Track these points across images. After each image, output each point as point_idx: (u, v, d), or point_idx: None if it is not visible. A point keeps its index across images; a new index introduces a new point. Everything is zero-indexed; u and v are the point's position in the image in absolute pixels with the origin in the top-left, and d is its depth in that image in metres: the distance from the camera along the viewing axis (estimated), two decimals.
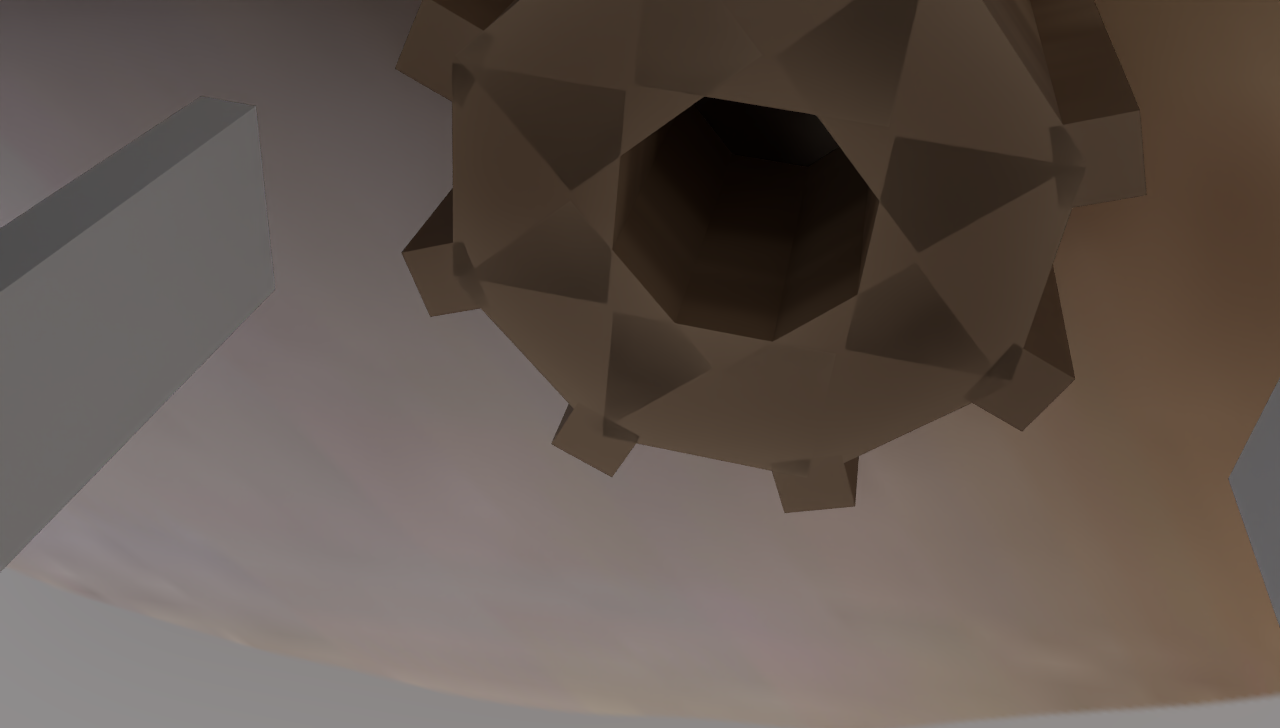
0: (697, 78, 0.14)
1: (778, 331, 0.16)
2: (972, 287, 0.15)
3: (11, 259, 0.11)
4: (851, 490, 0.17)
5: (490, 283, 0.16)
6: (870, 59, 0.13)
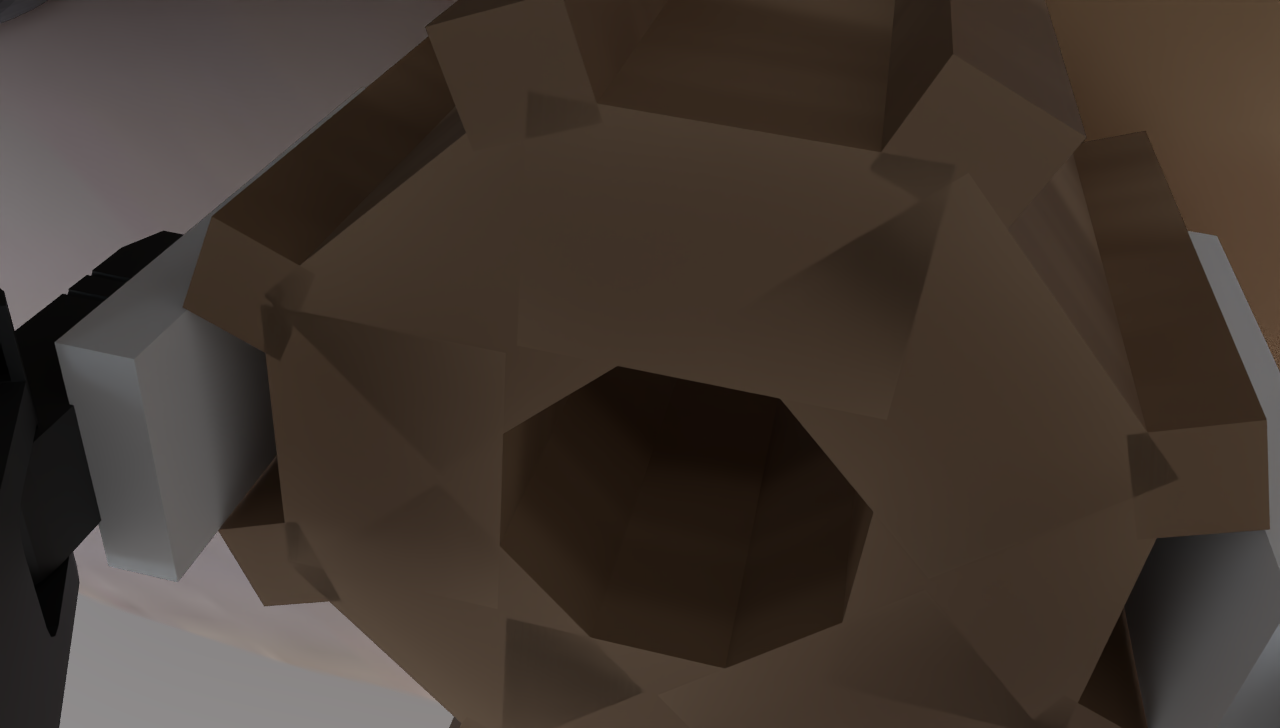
0: (606, 342, 0.10)
1: (732, 648, 0.12)
2: (1006, 625, 0.10)
3: None
4: None
5: (339, 573, 0.12)
6: (858, 332, 0.09)
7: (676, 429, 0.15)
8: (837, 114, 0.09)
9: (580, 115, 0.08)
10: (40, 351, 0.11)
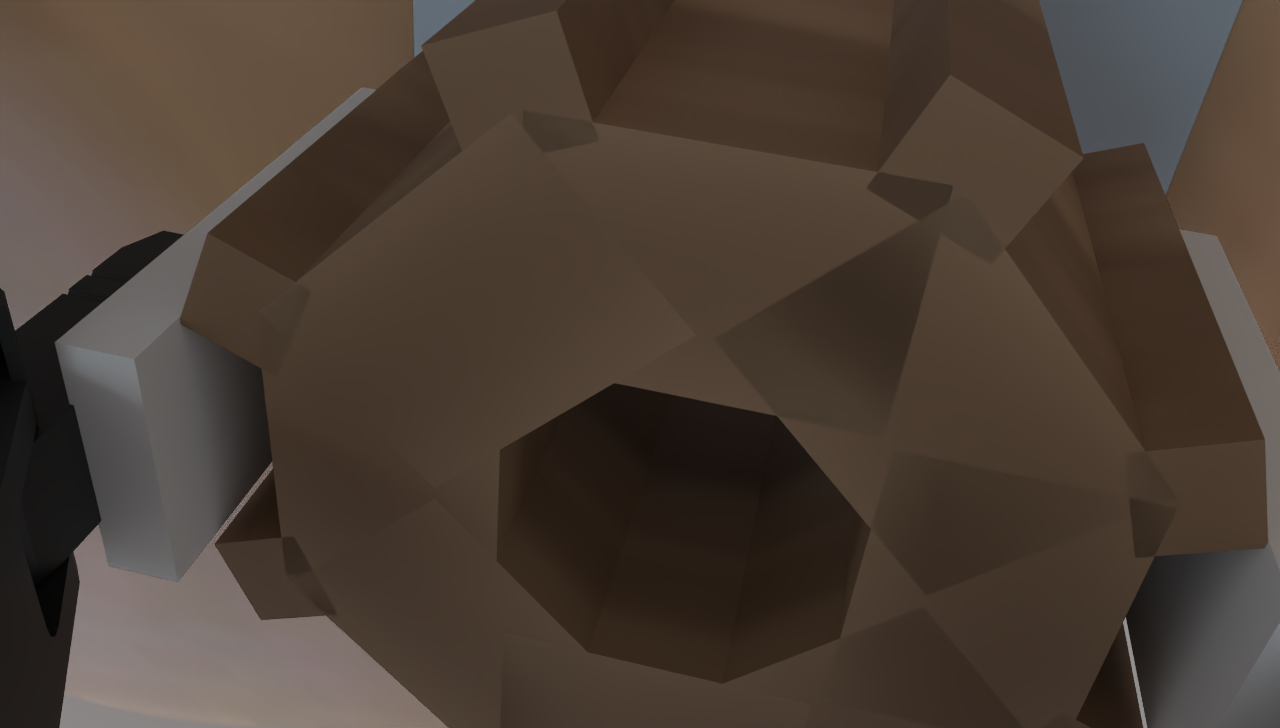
0: (603, 360, 0.10)
1: (729, 664, 0.12)
2: (1004, 642, 0.10)
3: None
4: None
5: (336, 588, 0.12)
6: (856, 350, 0.09)
7: (674, 441, 0.15)
8: (835, 131, 0.09)
9: (576, 134, 0.08)
10: (41, 350, 0.11)
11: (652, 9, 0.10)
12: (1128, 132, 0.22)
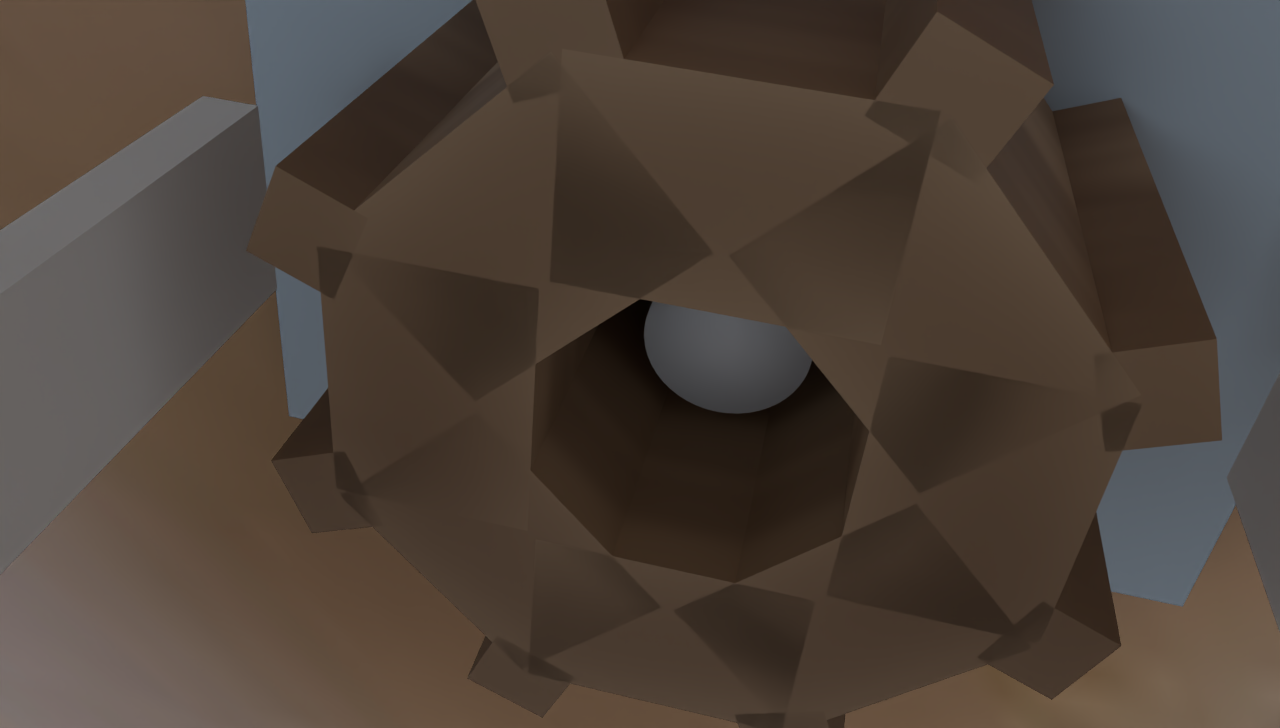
0: (630, 277, 0.11)
1: (741, 566, 0.13)
2: (989, 535, 0.11)
3: (14, 259, 0.11)
4: None
5: (382, 500, 0.13)
6: (855, 264, 0.10)
7: None
8: (837, 69, 0.10)
9: (609, 69, 0.10)
10: None
11: None
12: (1230, 343, 0.16)
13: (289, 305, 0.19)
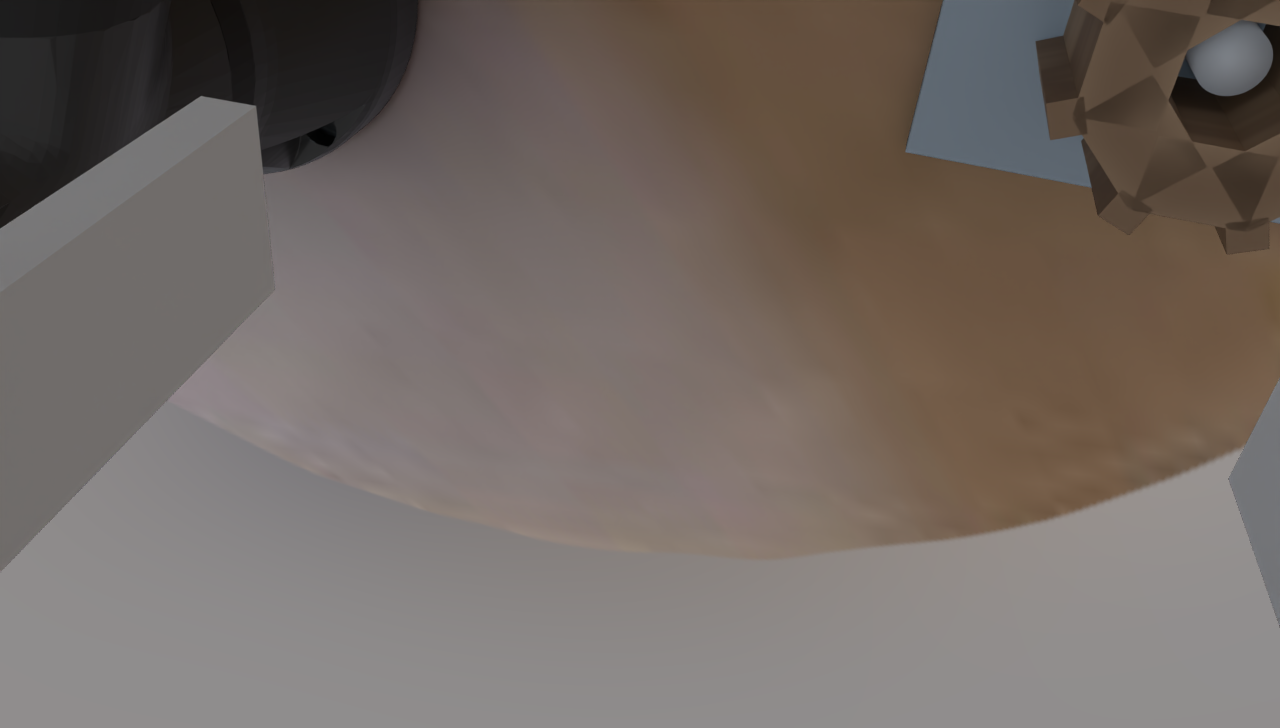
0: (1240, 10, 0.29)
1: (1244, 147, 0.31)
2: None
3: (11, 259, 0.11)
4: (1268, 239, 0.32)
5: (1092, 120, 0.32)
6: None
7: (1179, 98, 0.34)
8: None
9: None
10: None
11: None
12: None
13: (929, 85, 0.38)
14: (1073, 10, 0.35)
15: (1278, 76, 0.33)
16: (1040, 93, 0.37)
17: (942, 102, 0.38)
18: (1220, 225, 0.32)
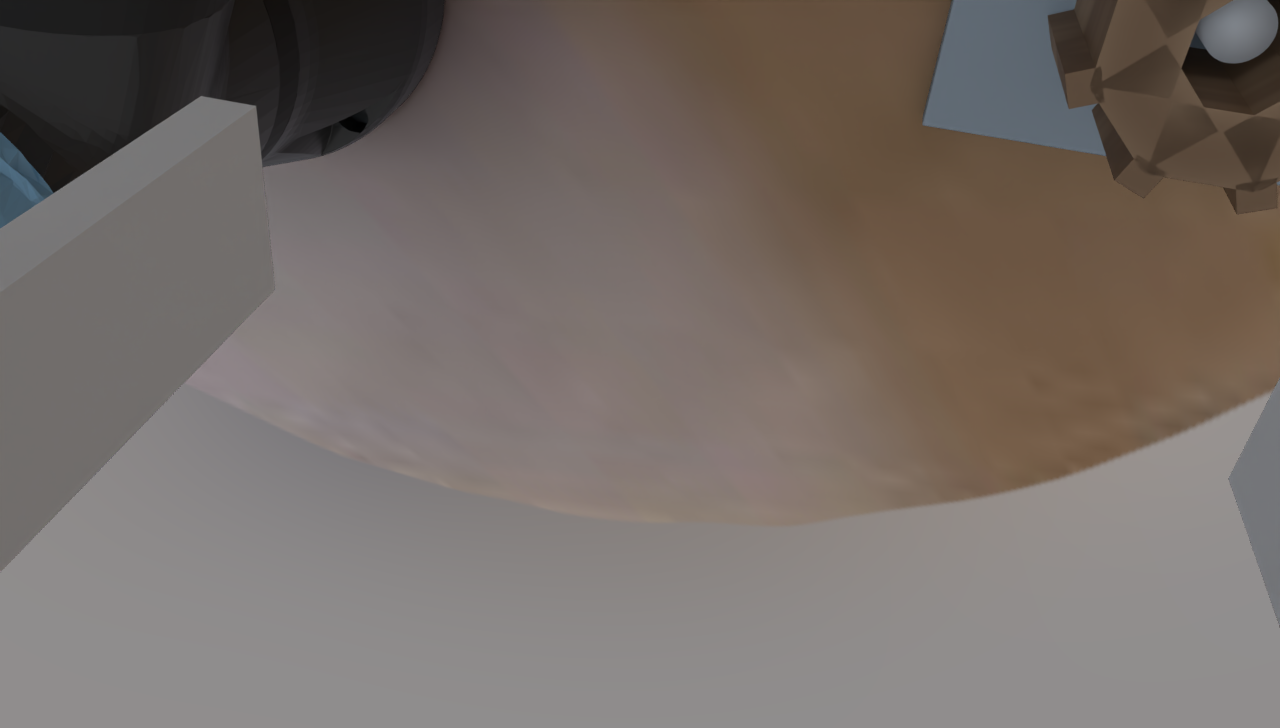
0: None
1: (1253, 112, 0.33)
2: None
3: (11, 259, 0.11)
4: (1276, 199, 0.34)
5: (1108, 89, 0.33)
6: None
7: (1187, 66, 0.36)
8: None
9: None
10: None
11: None
12: None
13: (945, 60, 0.40)
14: None
15: None
16: (1052, 65, 0.39)
17: (958, 76, 0.40)
18: (1230, 186, 0.34)
